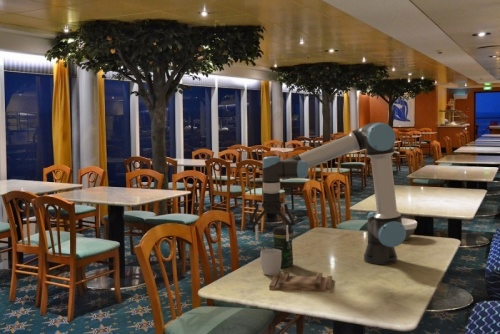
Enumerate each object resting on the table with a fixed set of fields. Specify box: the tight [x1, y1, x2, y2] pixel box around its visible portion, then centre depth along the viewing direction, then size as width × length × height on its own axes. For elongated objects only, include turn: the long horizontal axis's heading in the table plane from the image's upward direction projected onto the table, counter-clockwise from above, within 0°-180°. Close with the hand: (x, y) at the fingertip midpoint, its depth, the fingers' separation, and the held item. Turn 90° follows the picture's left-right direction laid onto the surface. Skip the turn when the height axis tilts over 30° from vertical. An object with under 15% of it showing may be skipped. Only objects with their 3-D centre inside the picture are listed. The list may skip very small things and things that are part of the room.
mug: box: [260, 248, 282, 276], centre depth 242 cm, size 13×9×10 cm
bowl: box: [401, 217, 418, 241], centre depth 301 cm, size 20×20×10 cm
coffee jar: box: [272, 224, 294, 268], centre depth 252 cm, size 10×8×19 cm
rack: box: [268, 271, 333, 292], centre depth 224 cm, size 24×16×3 cm, turn 79°
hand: (272, 240), depth 241 cm, fingers open, 13 cm apart
